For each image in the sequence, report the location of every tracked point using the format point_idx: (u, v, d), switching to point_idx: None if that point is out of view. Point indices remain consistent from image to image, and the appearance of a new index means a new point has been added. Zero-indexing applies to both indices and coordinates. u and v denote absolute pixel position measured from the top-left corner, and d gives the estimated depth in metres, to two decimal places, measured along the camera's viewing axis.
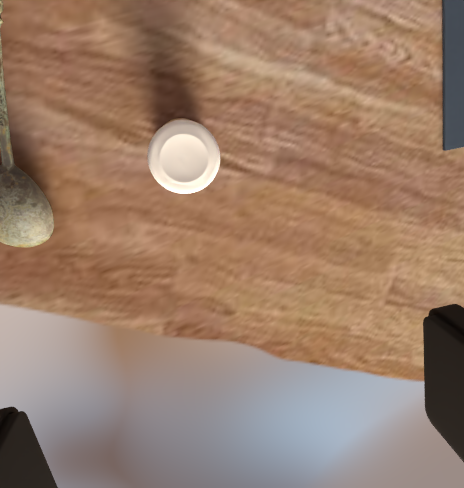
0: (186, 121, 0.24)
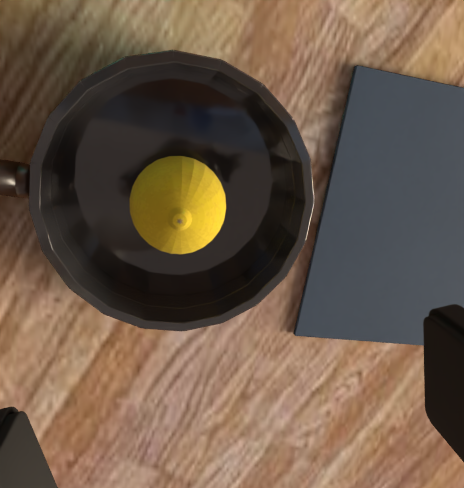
0: None
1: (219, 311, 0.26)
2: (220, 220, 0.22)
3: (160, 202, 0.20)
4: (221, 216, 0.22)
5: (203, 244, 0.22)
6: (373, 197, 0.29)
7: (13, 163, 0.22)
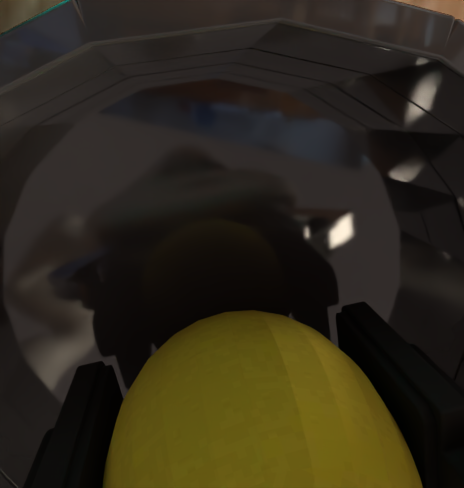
0: None
1: None
2: None
3: None
4: None
5: None
6: None
7: None
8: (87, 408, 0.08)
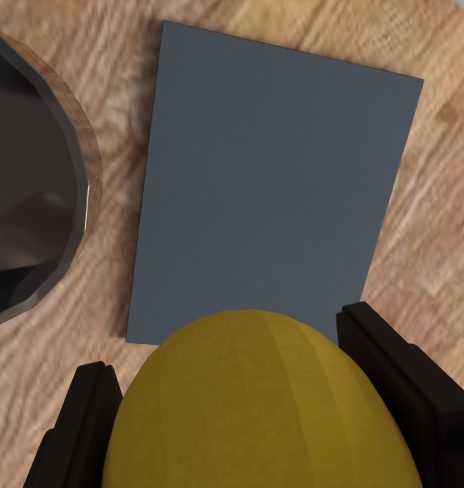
0: None
1: None
2: None
3: None
4: None
5: None
6: (203, 181, 0.25)
7: None
8: (87, 408, 0.08)
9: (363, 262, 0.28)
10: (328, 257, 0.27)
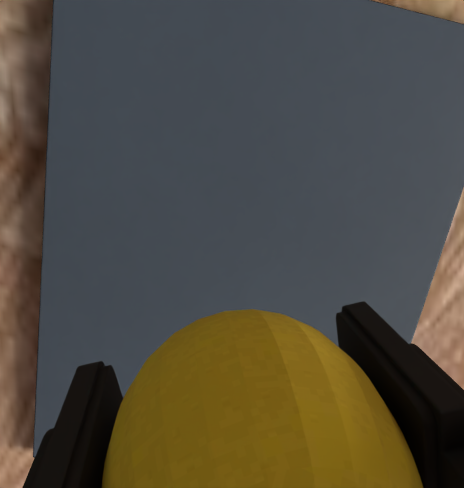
0: None
1: None
2: None
3: None
4: None
5: None
6: (145, 209, 0.15)
7: None
8: (87, 408, 0.08)
9: (404, 328, 0.18)
10: None
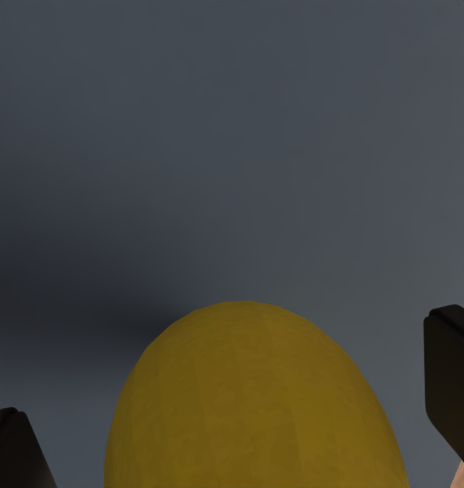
0: None
1: None
2: None
3: None
4: None
5: None
6: (136, 244, 0.11)
7: None
8: None
9: None
10: (406, 386, 0.13)
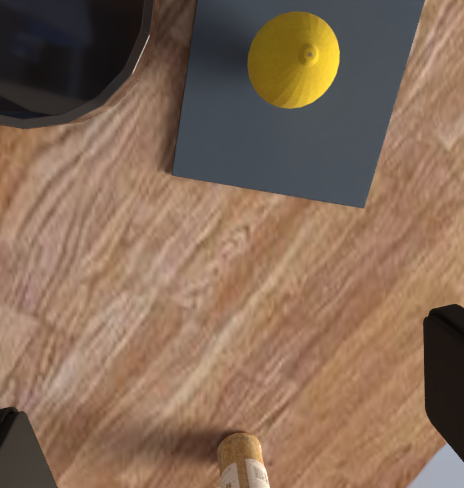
0: None
1: None
2: (336, 68, 0.24)
3: (291, 38, 0.22)
4: None
5: (320, 90, 0.24)
6: (246, 18, 0.28)
7: None
8: None
9: (386, 109, 0.31)
10: (354, 101, 0.31)
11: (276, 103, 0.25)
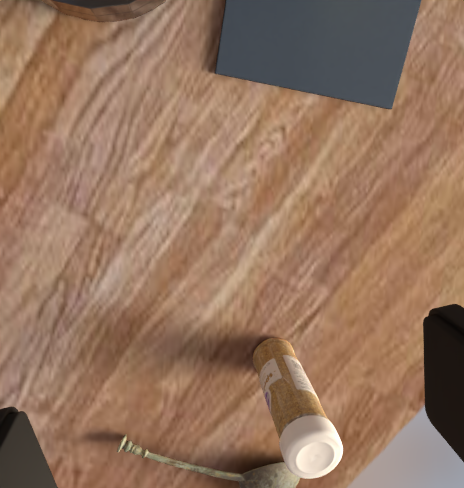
0: (289, 448, 0.29)
1: None
2: None
3: None
4: None
5: None
6: None
7: None
8: None
9: (412, 9, 0.34)
10: (383, 2, 0.33)
11: None
